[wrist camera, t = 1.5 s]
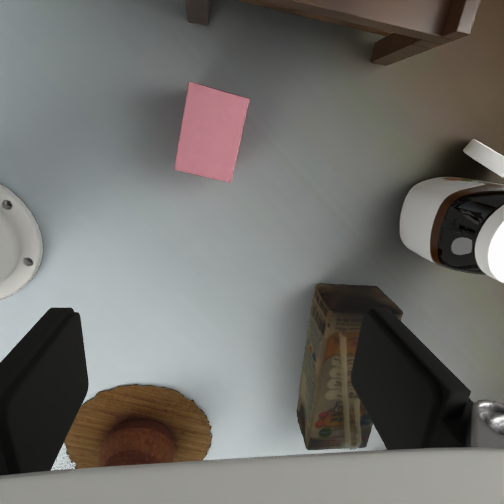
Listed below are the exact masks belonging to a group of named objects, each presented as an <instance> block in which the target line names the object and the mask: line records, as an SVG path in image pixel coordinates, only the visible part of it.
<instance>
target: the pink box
mask: <svg viewBox="0 0 504 504" xmlns="http://www.w3.org/2000/svg"><path fill="white" fill-rule="evenodd" d="M249 101H250V99H248V98H245V97H241V96H238V95H234V94H231V93H227V92H224V91H220V90H217V89H213V88H210V87H206V86H203V85H199V84H196V83H192V82H189V83H188V89H187V95H186V101H185V107H184V113H183V119H182V125H181V131H180V137H179V143H178V149H177V155H176V161H175V167H174V169H175V170H178V171H182V172H187V173H191V174H195V175H200V176H204V177H208V178H213V179H217V180H221V181H225V182H231V181H232V177H233V173H234V168H235V164H236V159H237V155H238V150H239V146H240V141H241V137H242V132H243V128H244V123H245V119H246V114H247V110H248V105H249Z"/></svg>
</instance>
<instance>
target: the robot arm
mask: <svg viewBox="0 0 504 504" xmlns="http://www.w3.org/2000/svg"><path fill="white" fill-rule="evenodd" d="M10 202H11V204H12V205H11V204H10ZM42 254H43V243H42V235H41V232H40V229H39V227H38V224H37V222H36V220H35V218H34V217H33V215H32V213H31V211H30V210H29V209H28V208H27V206H26V205H25V204H24V203H23V202H22V200H21V199H19V198H18V197H17V196H16V195H15V194H14V193H13V192H11V191H10V190H9V189H7V188H6V187H4V186H3V185H1V184H0V300H1V299H4V298H7V297H9V296H11V295H13V294H15V293H17V292H18V291H19V290H20V289H22V288H23V287H24V286H25V285H26V284H27V283H28V282H30V281H31V280H32V279H33V277H34V276H35V274H36V272H37V271H38V269H39V266H40V263H41V260H42ZM31 259H32V260H31ZM351 383H352V386H353V388H354V390H355V392H356V393H357V395H358V397H359V399H360V401H361V402H362V404H363V406H364V408H365V410H366V411H367V413H368V415H369V417H370V419H371V420H372V422H373V424H374V426H375V428H376V429H377V431H378V433H379V435H380V437H381V439H382V440H383V442H384V444H385V446H386V448H387V449H388V450H379V451H360V452H341V453H323V454H304V455H287V456H270V457H253V458H236V459H219V460H203V461H187V462H172V463H156V464H141V465H126V466H110V467H95V468H81V469H67V470H53V471H50V470H51V468H52V466H53V464H54V462H55V459H56V457H57V455H58V453H59V451H60V449H61V447H62V445H63V443H64V441H65V438H66V436H67V434H68V432H69V430H70V428H71V426H72V424H73V422H74V420H75V417H76V415H77V413H78V411H79V409H80V407H81V405H82V403H83V401H84V399H85V396H86V394H87V391H88V375H87V367H86V359H85V351H84V343H83V335H82V327H81V319H80V315H79V313H78V312H74V310H73V309H72V308H50V309H49V310H48V311H47V312H46V313H45V314H44V315H43V317H42V318H41V319H40V320H39V321H38V322H37V323H36V324H35V325H34V326H33V328H32V329H31V330H30V331H29V332H28V333H27V334H26V335H25V336H24V337H23V338H22V340H21V341H20V342H19V343H18V344H17V345H16V346H15V347H14V348H13V349H12V351H11V352H10V353H9V354H8V355H7V356H6V357H5V358H4V359H3V360H2V362H1V363H0V504H504V404H503V403H499V402H496V401H491V400H479V401H477V402H475V403H473V402H472V401H471V400H470V399H469V395H470V392H471V391H470V390H469V389H468V388H467V387H466V386H465V385H464V384H463V383H462V382H461V381H460V380H459V379H458V378H457V377H456V376H455V375H454V374H453V373H452V372H451V371H450V370H449V369H448V368H447V367H446V366H445V365H444V364H443V363H442V362H441V361H440V360H439V359H438V358H437V357H436V356H435V355H434V354H433V353H432V352H431V351H430V350H429V349H428V348H427V347H426V346H425V345H424V344H423V343H422V342H421V341H420V340H419V339H418V338H417V337H416V336H415V335H414V334H413V333H412V332H411V331H410V330H409V329H408V328H407V327H406V326H405V325H404V324H403V323H402V322H401V321H400V320H399V319H398V318H397V317H396V316H395V315H394V314H393V313H392V312H391V311H390V310H389V309H388V308H370V309H369V310H368V312H365V313H364V314H363V318H362V323H361V327H360V332H359V337H358V342H357V347H356V352H355V357H354V362H353V367H352V371H351Z"/></svg>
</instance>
